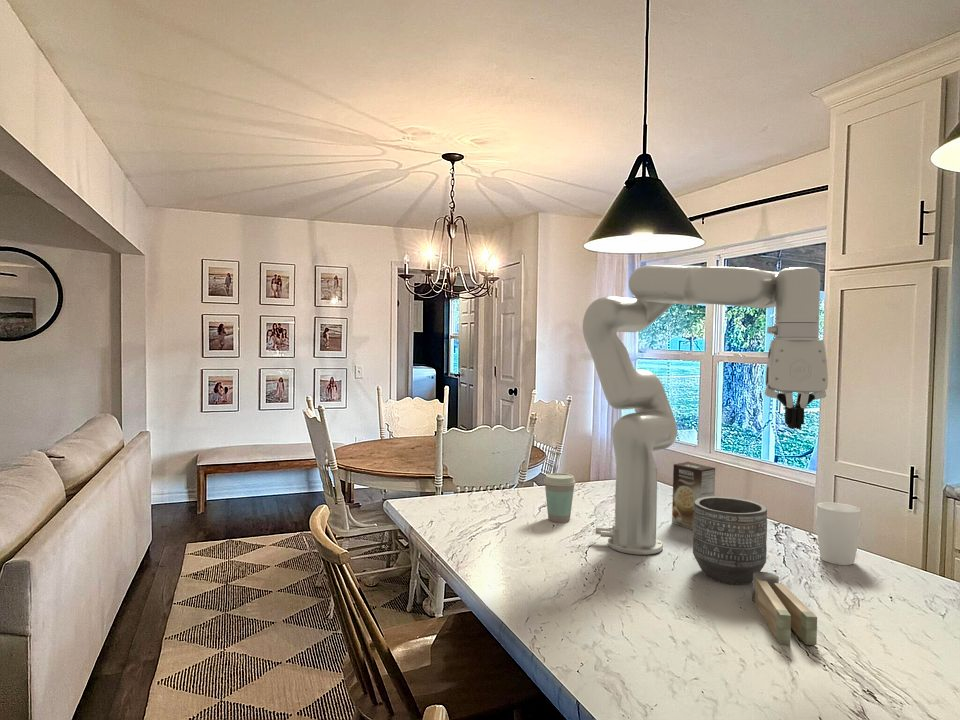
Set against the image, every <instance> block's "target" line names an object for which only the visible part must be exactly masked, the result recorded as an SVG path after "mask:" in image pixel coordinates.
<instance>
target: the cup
mask: <svg viewBox="0 0 960 720" xmlns="http://www.w3.org/2000/svg"><path fill="white" fill-rule="evenodd" d="M814 517H815V525H816V526H815V527H816V535H817V542H818V549H819V551H818V552H819V557H820V559H821V560H822V561H824V562H827V563H830V564H833V565H837V566H838V565H839V566H851V565H853V564H854V563H855V561H856V556H857V551H858V546H859V540H860V534H861V531H862V525H863V521H862V508H860V507H858V506H854V505H851V504H849V503H848V504H846V503H841V502H834V501H833V502H830V501H821V502H818V503H816V509H815V516H814Z"/></svg>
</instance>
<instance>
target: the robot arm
mask: <svg viewBox="0 0 960 720" xmlns="http://www.w3.org/2000/svg"><path fill="white" fill-rule="evenodd" d="M628 290H629V291H630V293H631V295H632V296H633V297H623V296H611V295H610V296H603V297H598V298H597V299H595V300H594V301H592V302H591V303H590V304H589V305H588V307H586V310H585V313H584V316H583V319H582V334H583V339H584V341H585V343H586V344H585V345H586V346H587V348H588V351H589V354H590V356H591V357H592V361H593V364H594V367H595V370H596V373H597V375H598V379H599V382H600V385H601V387H602V390H603V394H604V397H605V399H606V400H607V403H608V405H609V406H610V407H612V408H613V409H615V410H632V409H633V410H634V411H635V412H632V413H627V414H625V415H622V416H621V417H620V418H619V419H617V421H616V422H615V423H614V425H613V428H612V432H611V433H612V434H611V437H612V438H611V439H612V445H613V446H612V447H613V451H614V458H615V459H614V460H615V492H614V493H615V496H614V497H615V499H614V501H615V502H614V503H615V504H614V505H615V506H614V507H615V508H614V522H613V523H612V524H613V525H608V526H607V527H606V526H605V527H604V526H597V525H595V535H597V536H598V535H599V536H600V537H602V538H608V539H607V545H608V546H609V547H610V548H611V549H612V550H614V551H617V552H620V553H625V554H630V555H641V556H643V555H654V554H658V553H660V552H661V551H663V549H664V548H663V547H664V544H663V542H662V541H661V540H660V539H658V538H657V509H658V507H657V506H658V505H657V502H658V469H657V464H656V461H655V457H654V455H653V452H656V451H660V450H665V449H668V448H669V447H671V446H672V445H673V444H674V443H675V442H676V440H677V436H678V426H677V421H676V419H675V418H676V417H675V416H674V413H673V410H672V408H671V405H670V402H669V399H668V397H667V393H666V390H665V388H664V386H663V383H662V382H661V380H660V379H659V378H658V377H657V375H656V374H654V373H653V372H651V371H650V370H646V369H636V368H635V367H634V365H633V363H632V362H633V361H631V357H630V354H629V352H628V349H627V347H626V346H625V345H624V343H623V342H622V340H621V339H620V338H619V336H618V335H617V333H637V332H640V331H643V330H646V328H648V327H649V326H651V325H652V324H653V323H654V322H655V321H656V320H657V319H659V318H660V317H661V316H663V314H665V313H666V312H667V311H668V310H669V309H670V308H671V307H673V305H684V306H698V305H699V304H704V305H705V304H706V305H719V306H721V305H722V306H732V307H734V306H735V307H741V308H743V307H745V308H747V307H748V308H754V309H771V308H775V316H774V317H775V321H774V322H775V323H774V324H773V325H772V326H767V328H766V333H767V334H769V335H770V334H771V335H773V337H774V339H771V340H770V344H769V349H768V355H767V360H766V367H765V368H766V369H765V386H766V387H765V390H764V396H766V397H768V398H773V399H777V400H778V401H779V402H780V404H782V405H783V406H784V408H785V409H784V423H785V424H786V425H787V428H788V429H790V430H795V429H796V430H801V429H802V425H804V424H805V409H806V408H807V406H808V405H809V404H810V403H811V402H813V401H815V400H821V399H825V398H826V397H827V392H826V391H827V389H828V385H829V379H828V377H829V375H828V362H827V361H828V360H827V359H828V358H827V354H826V353H827V352H826V347H825V341H824V340H821V339H819V336H820V335H819V331H820V302H821V301H820V300H821V298H820V297H821V294H820V293H821V274H820V271H819V269H817V268H813V267H807V266H806V267H805V266H803V267H802V266H799V267H789V268H783V269H781V270H780V271H768V270H762V269H759V268H752V267H751V268H750V267H739V266H737V267H735V266H730V267H729V266H701V265H667V264H666V265H664V264H663V265H661V264H647V265H643V266H639V267H637V268H636V269H635V270H633V272H632V273H631V274H630V276H629V279H628ZM793 393H797V394H796V396H797V397H796V401H795V404H794V398H793Z"/></svg>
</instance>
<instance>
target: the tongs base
mask: <svg viewBox="0 0 960 720" xmlns="http://www.w3.org/2000/svg"><path fill="white" fill-rule="evenodd" d="M779 582H780V577H779V575H777V574H774V573H772V572H768V571H760V572H755V573H753V581H752V600H751V601H752V603H754V604H755V605H756V608H757V610H758V611H759V612H760V614H761V616H762V617H763V619H764V621H765V622H766V624H767V626H768V627H769V629H770V631H771V632H772V634H773V636H774V638H775V640H776V641H777V642H778V644H779V645H784V646H785V645H786V646H791V636H792V635H791V633H792V631H791V630H792V628H791V615H790V613H789V612H788V611H787V609H786V608H785V606H784V605H783V604H782V602H781V601H780V599H779V598H778V597H777V595H776V594H775V592H774V583H779Z"/></svg>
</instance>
